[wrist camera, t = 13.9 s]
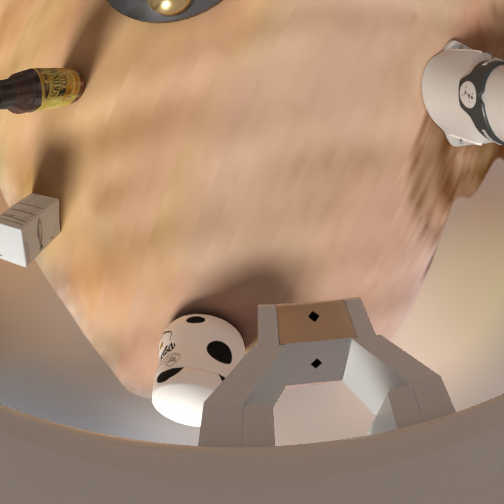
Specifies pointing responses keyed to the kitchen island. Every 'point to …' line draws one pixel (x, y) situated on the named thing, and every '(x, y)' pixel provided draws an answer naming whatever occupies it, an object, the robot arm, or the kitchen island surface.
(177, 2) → the lever knob
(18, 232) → the supplement box
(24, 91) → the sauce bottle
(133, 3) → the levelling plate
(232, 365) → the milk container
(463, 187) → the kitchen island surface
